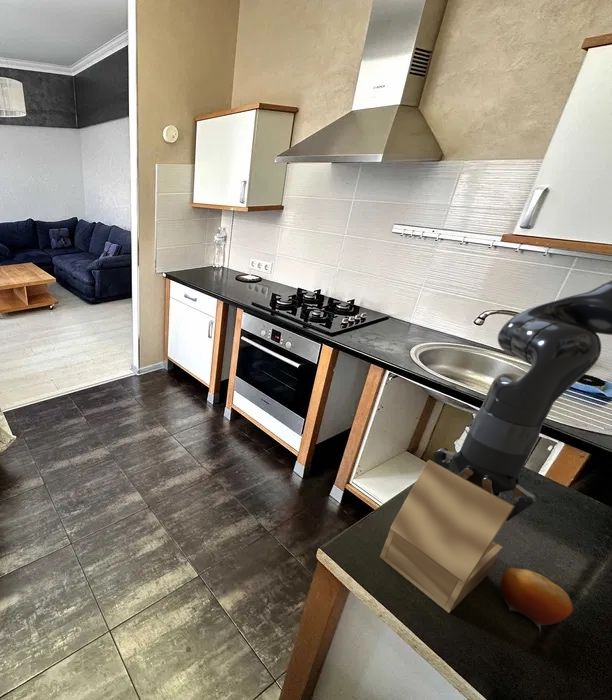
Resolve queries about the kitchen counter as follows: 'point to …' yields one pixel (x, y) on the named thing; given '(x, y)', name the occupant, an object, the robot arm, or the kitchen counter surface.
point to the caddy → (434, 571)
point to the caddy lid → (451, 519)
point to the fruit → (535, 596)
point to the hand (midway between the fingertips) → (462, 515)
